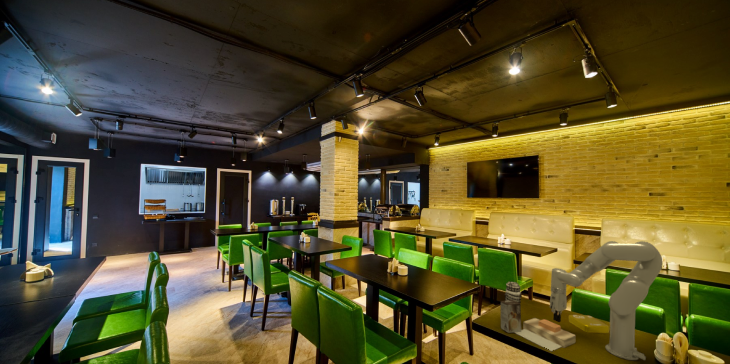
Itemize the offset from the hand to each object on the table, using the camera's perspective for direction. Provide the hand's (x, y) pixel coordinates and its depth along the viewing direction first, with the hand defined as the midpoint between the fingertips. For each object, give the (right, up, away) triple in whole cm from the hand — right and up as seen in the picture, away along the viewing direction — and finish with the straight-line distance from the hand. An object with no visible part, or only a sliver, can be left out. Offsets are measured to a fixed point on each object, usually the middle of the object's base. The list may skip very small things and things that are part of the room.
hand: (556, 320), depth 165 cm
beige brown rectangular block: (-9, -6, -5) cm, 12 cm away
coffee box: (-28, -5, -1) cm, 29 cm away
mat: (-18, -5, -11) cm, 22 cm away
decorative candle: (-23, -6, +8) cm, 25 cm away
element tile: (+24, -8, +7) cm, 27 cm away
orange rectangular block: (-8, -2, -5) cm, 9 cm away
